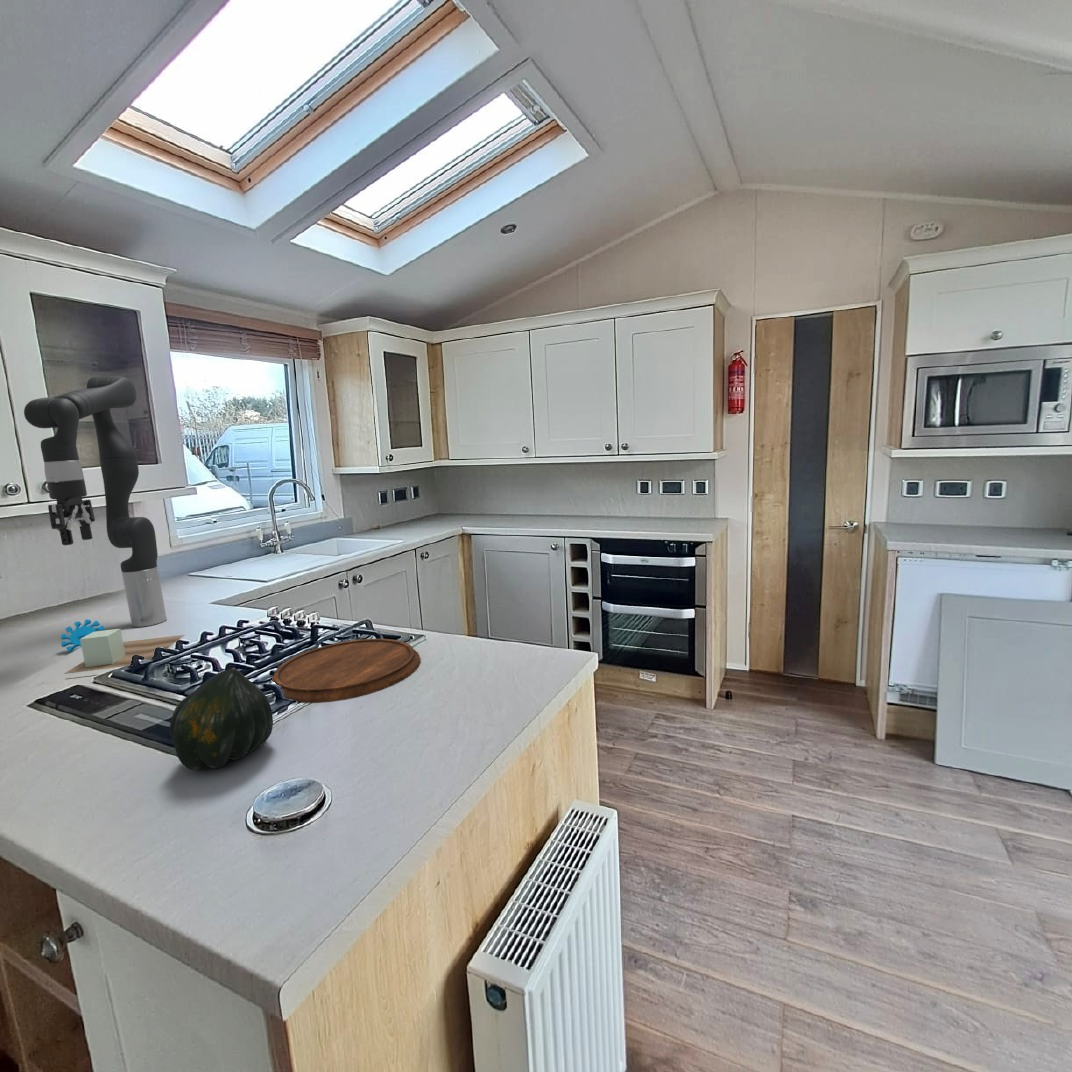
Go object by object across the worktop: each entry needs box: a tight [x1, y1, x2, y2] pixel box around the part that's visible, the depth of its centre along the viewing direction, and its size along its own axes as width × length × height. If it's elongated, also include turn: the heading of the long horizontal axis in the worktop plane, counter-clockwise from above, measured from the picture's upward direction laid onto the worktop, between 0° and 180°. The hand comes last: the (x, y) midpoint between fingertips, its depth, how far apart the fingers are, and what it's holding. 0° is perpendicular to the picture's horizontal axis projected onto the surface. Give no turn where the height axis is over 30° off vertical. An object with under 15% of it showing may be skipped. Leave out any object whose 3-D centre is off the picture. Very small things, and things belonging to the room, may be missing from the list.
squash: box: [169, 667, 274, 771], centre depth 95 cm, size 14×15×15 cm
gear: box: [60, 618, 106, 653], centre depth 162 cm, size 11×6×10 cm
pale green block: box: [80, 628, 125, 667], centre depth 144 cm, size 6×6×7 cm
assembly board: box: [64, 634, 185, 680], centre depth 149 cm, size 22×18×6 cm
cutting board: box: [271, 638, 421, 704], centre depth 130 cm, size 32×32×2 cm
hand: (78, 542), depth 151 cm, fingers open, 8 cm apart
